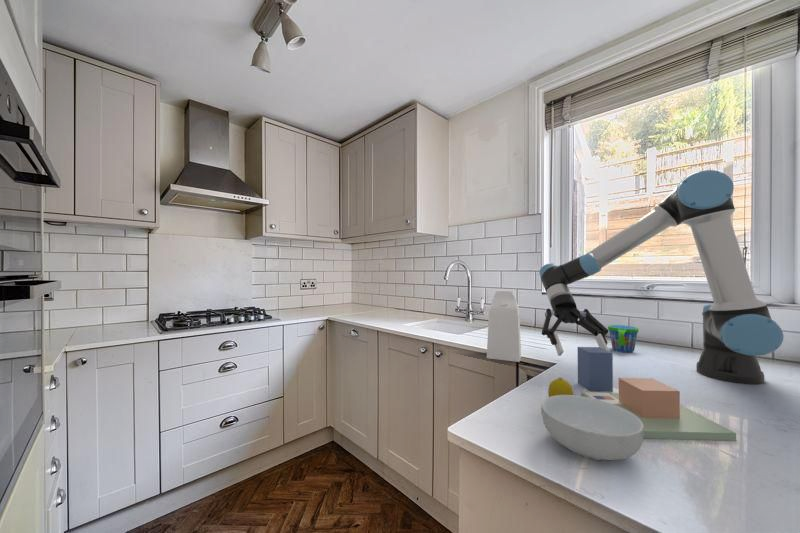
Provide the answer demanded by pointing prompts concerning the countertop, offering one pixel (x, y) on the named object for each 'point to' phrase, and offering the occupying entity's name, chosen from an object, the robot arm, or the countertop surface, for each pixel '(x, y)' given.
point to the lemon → (560, 388)
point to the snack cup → (623, 337)
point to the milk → (504, 328)
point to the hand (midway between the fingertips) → (583, 354)
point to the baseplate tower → (662, 411)
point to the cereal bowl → (592, 427)
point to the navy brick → (595, 369)
